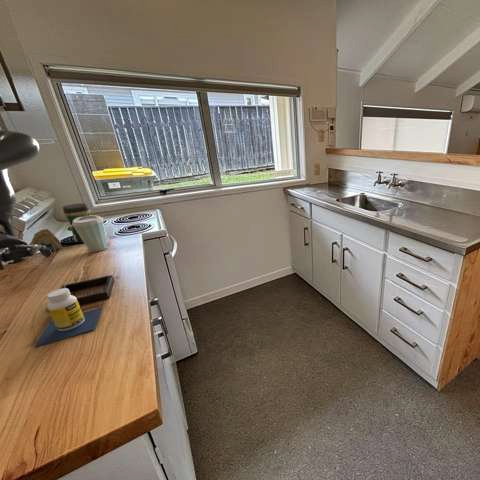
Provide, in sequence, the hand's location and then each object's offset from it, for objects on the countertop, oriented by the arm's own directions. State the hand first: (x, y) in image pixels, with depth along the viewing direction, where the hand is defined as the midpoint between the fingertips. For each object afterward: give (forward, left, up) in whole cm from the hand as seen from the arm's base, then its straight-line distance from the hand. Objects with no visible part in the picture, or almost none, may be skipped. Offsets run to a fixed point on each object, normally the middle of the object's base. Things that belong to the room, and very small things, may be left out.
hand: (25, 259), depth 66 cm
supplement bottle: (+7, -10, -17) cm, 21 cm away
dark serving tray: (+7, +6, -17) cm, 19 cm away
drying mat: (+7, -11, -17) cm, 21 cm away
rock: (-18, +67, -17) cm, 72 cm away
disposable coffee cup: (+2, +54, -17) cm, 57 cm away
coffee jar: (-4, +73, -17) cm, 76 cm away
